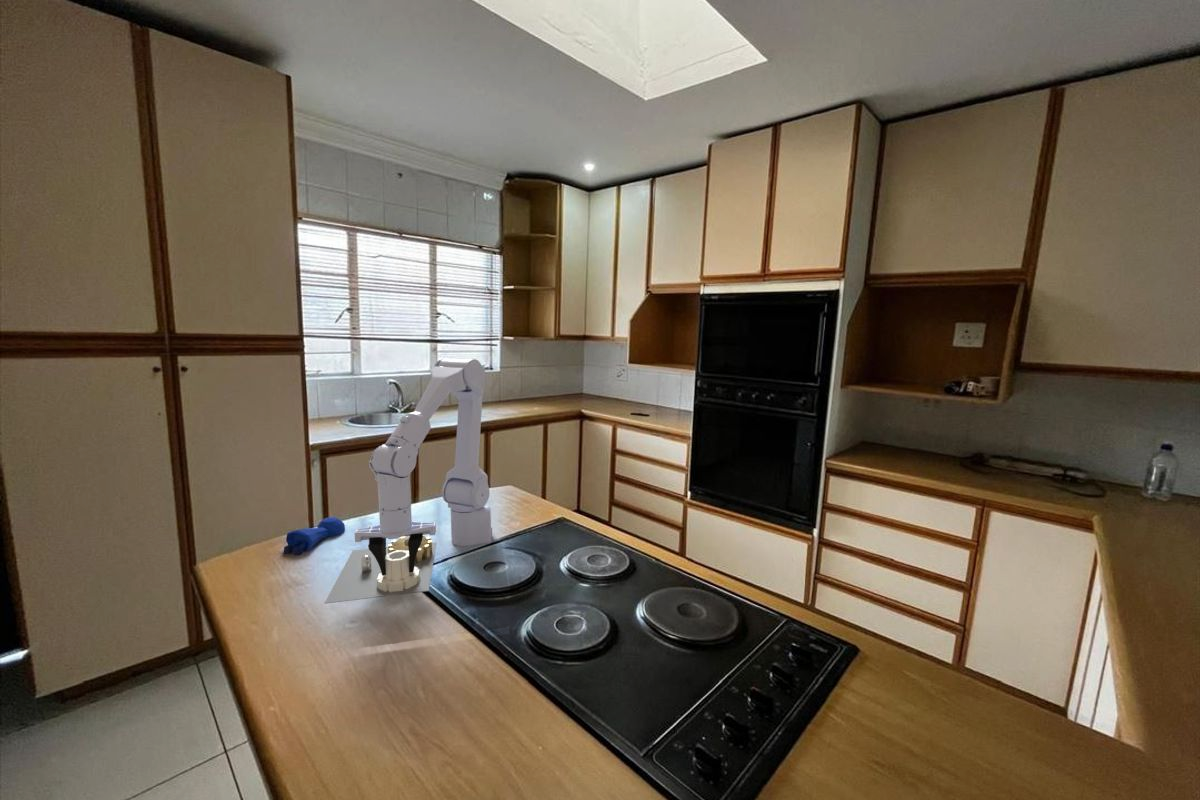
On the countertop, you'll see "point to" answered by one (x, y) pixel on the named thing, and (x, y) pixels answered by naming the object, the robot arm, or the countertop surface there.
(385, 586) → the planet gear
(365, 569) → the carrier pin
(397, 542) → the sun gear
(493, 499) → the countertop surface
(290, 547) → the toy
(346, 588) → the carrier plate
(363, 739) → the countertop surface
